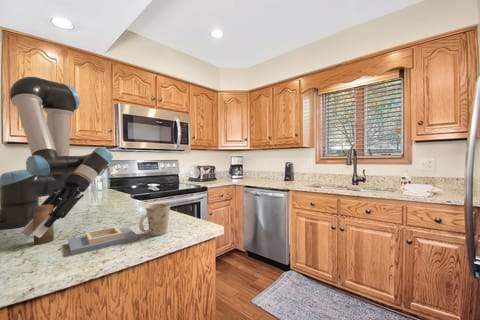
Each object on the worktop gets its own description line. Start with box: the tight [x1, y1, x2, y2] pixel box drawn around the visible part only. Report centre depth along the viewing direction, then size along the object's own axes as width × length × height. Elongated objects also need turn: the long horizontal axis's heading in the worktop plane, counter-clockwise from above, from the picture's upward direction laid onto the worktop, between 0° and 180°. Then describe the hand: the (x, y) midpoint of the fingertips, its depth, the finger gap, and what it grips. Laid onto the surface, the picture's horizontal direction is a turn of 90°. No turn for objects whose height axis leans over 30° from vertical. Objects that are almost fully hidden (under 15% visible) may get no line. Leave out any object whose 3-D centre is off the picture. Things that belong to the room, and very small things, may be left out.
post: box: [33, 204, 55, 245], centre depth 73 cm, size 5×5×12 cm
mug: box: [138, 203, 171, 236], centre depth 79 cm, size 8×13×10 cm, turn 158°
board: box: [67, 226, 139, 256], centre depth 72 cm, size 12×18×3 cm, turn 132°
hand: (30, 234), depth 69 cm, fingers closed on post, 5 cm apart
